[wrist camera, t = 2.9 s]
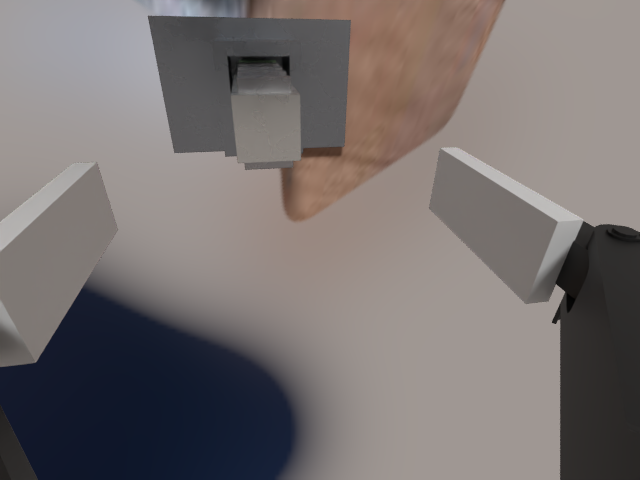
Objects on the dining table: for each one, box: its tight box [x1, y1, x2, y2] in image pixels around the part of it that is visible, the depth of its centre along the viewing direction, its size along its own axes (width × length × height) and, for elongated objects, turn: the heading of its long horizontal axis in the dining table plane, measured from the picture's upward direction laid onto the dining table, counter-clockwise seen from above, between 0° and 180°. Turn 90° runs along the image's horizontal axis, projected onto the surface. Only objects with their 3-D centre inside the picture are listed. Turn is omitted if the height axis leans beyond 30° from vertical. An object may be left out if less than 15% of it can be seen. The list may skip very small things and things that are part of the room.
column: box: [231, 60, 301, 170], centre depth 29 cm, size 4×6×16 cm
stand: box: [148, 16, 351, 156], centre depth 32 cm, size 18×12×10 cm, turn 89°
